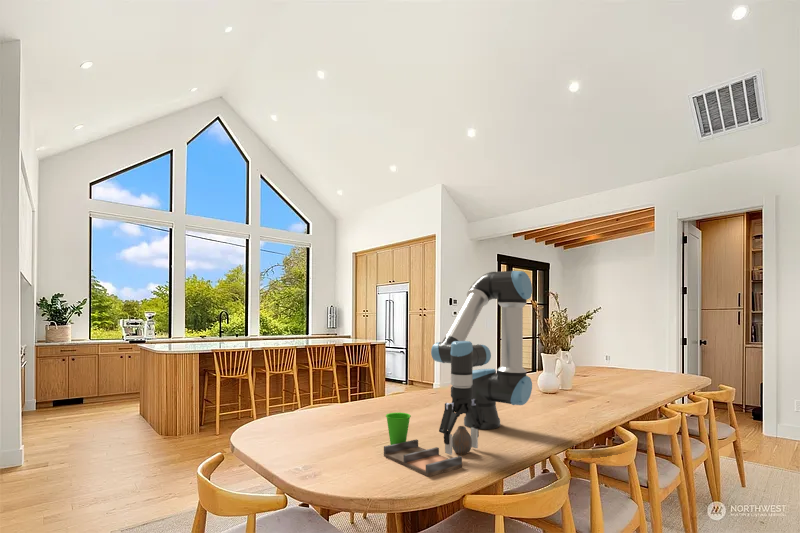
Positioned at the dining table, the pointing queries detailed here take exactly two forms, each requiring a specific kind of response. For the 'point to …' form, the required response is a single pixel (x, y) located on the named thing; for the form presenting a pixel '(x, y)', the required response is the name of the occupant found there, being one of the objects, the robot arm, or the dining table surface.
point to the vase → (461, 441)
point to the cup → (398, 427)
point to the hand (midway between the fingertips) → (461, 450)
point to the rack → (421, 458)
